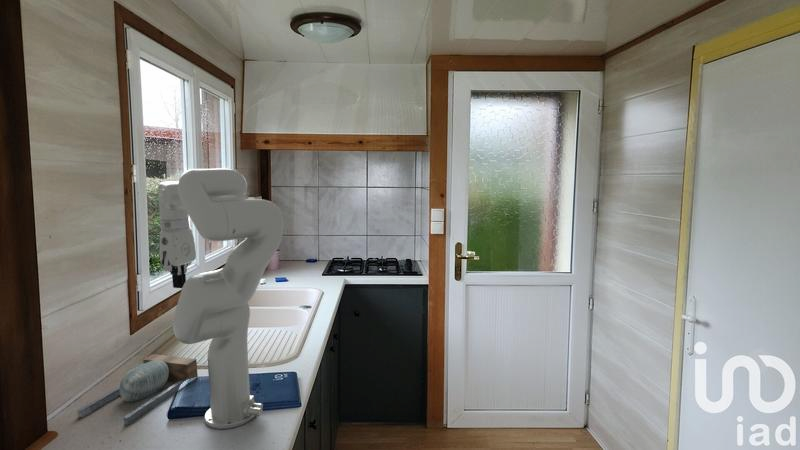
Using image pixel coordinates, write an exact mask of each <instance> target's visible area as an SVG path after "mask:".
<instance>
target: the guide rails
mask: <svg viewBox="0 0 800 450" xmlns="http://www.w3.org/2000/svg"><path fill="white" fill-rule="evenodd" d="M186 380H188V378H187V377H184V378H183V379H181V380H180V381H178V382H177V383H176V382H174V384H172V385H171V386H169V387H168V388H166V389H165V390H163V391H162V392H160V393H158V394H157V395H156V396H153V397H152V398H151V399H149V400H148V401H146V402H144V403H143V404H142V405H140V406H137V408H136V409H134V410H132V411H131V412H129V413H128V414H126V415H125V416H123V425H124V426H129V425H131V424H132V423H134V422H135V421H137V420H138V419H140V418H141V417H143V416H144V415H146V414H148V412H150V411H152V410H153V409H155V408H156V407H157V406H159V405H161V404H162V403H163V402H164V401H166V400H167V399H168V400H169V398H170V397H172V396H173V395H175V394H176V393H177V392H176V391H177V390H178V388H179V386H180V385H181V384H182V383H183V382H184V381H186ZM118 397H121V395H120V385H119V386H117V387H116V388H114V389H112V390H111V391H109V392H107V393H105V394H103V395H101V396H100V397H98V398H97V399H95V400H93V401H91V402H89V403H87V404H86V405H84V406H82V407H80V408H79V409H77V410H76V411H77V417H79V418H80V419H83V418H85V417H86V416H88V415H90V414H91V413H93V412H95V411H97V410H98V409H100V408H102V407H103V406H105V405H106V404H108V403H111V401H113V400H115V399H117V398H118Z"/></svg>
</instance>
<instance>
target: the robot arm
mask: <svg viewBox="0 0 800 450" xmlns="http://www.w3.org/2000/svg"><path fill="white" fill-rule="evenodd" d="M247 191H248V182H247V180H246V177H245V176H244V175H243V174H242V173H240V172H239V171H237V170H234V169H230V168H191V169H188V170H186V171H184V172H183V173H182V175H180V177H179V180H178V181H163V182H160V183H159V184H158V185H157V195H158V208H159V220H160V221H159V222H160V235H159V259H160V264H161V265H162V266H163V271H164V272H169V273H170V275H171V276H172V287H173V288H174V289H181V291H180V295H179V298H178V300H177V305H176V308H175V311H174V315H173V321H172V323H173V324H172V327H173V333H174V335H175V337H176V339H177V340H178V341H179V342H180V343H182V344H186V345H193V344H197V343H201V342H205V341H208V340H211V341H210V344H209V346H208V350H207V370H208V371H207V373H208V383H209V385H208V386H209V387H208V388H209V401H210V402H209V403H210V408H209V409H208V410H206V412H205V414H204V422H205V424H206V425H207V426H208V427H210V428H212V429H220V430H221V429H222V430H223V429H233V428H236V427H239V426H242V425H245V424H247V423H248V422H250V421H252V420H253V419H254V418H255V417H256V416H257V417H261V416H262V415H263V409H264V403H262V402H255V396H254V395H251V392H250V390H251V388H250V373H249V371H250V370H249V353H248V352H249V351H248V349H249V347H248V331H249V325H250V324H249V323H250V316H251V309H250V305H249V304H250V302H251V300H252V298H253V297H254V295H255V293H256V291H257V289H258V286H259V284H260V282H261V280H262V277H263V275H264V272H265V270H266V268H267V267H268V265H269V264H270V263H271V261H272V259H273V257H274V256H275V255H276V253H277V251H278V250H279V247H280V245H281V242H282V238H283V235H284V219H283V218H284V217H283V214H282V211H281V209H280V208H279V206H278V205H277V204H276V203H275V202H273V201H272V200H271V201H270V200H267V199H261V198H245V199H244V197H245V196H246V194H247ZM190 221H192V223H193V225H194V227H195V228H196V231H197V232H198V233H199V236H201V238H203V239H204V240H206V241H208V242H212V243H214V242H215V243H218V242H226V241H227V242H228V241H232V240H233V241H235V240H238V239H239V240H241V239H243V240H242V241H241V242H240V243H239V244H237V245H236V246H235V247H234V248H233V249H232V251H231V252H230V253H229V255H228V256H227V259H226V263H225V264H224V266H223V267H222V268H220V269H216V270H212V271H207V272H200V273H197V274H194V275H192V276H190V277H189V278H187V276H186V273H187V272H188V271H187V270H188V268H189V267H188V266H190V265H191V264H192V263H193V262H194V261H195V260H196V258H197V252H196V244H195V242H196V241H195V238H194V233H193V230H192V227H191V226H190V225H191V222H190Z"/></svg>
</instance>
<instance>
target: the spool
mask: <svg viewBox="0 0 800 450" xmlns="http://www.w3.org/2000/svg"><path fill="white" fill-rule="evenodd" d="M168 376H169V369H168V366H167V364H166V363H164V362H163V361H160V360H155V361H150V362H147V363H142V364H140V365H137V366H135V367H134V368H132V369H130V370H129V371H127V372H126V374H124V376H123V377H122V379H121V381H120V384H119V386H120V397H121V398H122V400H124V401H125V402H129V403H130V402H131V403H134V402H136V401H141V400H143V399H145V398H147V397H149V396H151V395H153V394H155V393H156V392H157V391H159V390H160V389H162V387H164V386H165V385H166V383H167V382H168V381H167V380H168Z"/></svg>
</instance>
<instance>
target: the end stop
mask: <svg viewBox="0 0 800 450" xmlns="http://www.w3.org/2000/svg"><path fill="white" fill-rule="evenodd" d="M155 360H160V361H163V362H164V363H166V364H167V366H168V369H169V376H168V380H167V382H168V383H169V382H171V383H177V382H178V381H180V380H181V379H183V378H184V377H187V378H188V379H191V378H194V377H198V365H197V364H198V363H197V361H198V360H197V358H192V357H190V358H189V357H182V356H172V355H162V354H156V353H153V354H150V355H148V356H147V357H146V358H145V357H144V358H143V361H142V364H144V363H147V362H150V361H155ZM198 378H199V377H198Z"/></svg>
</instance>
